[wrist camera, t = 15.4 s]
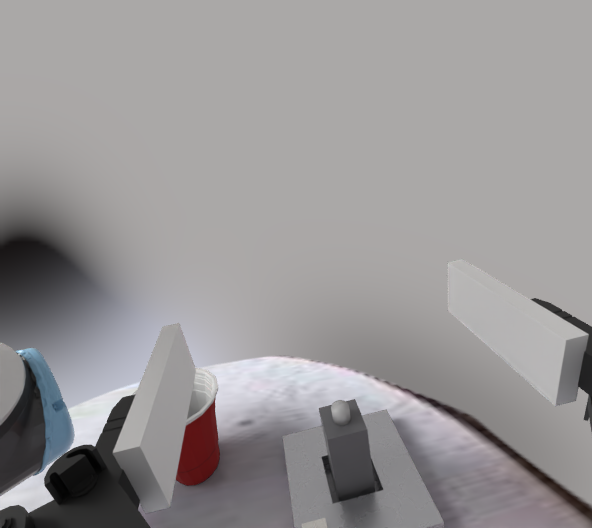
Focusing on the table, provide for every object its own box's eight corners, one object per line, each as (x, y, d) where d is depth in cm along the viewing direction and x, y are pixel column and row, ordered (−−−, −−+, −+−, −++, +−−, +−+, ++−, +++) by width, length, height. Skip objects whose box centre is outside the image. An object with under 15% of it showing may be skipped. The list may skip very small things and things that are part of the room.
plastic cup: (256, 447, 46) (235, 377, 41) (192, 525, 38) (157, 449, 33) (204, 417, 52) (180, 354, 47) (140, 478, 44) (104, 410, 40)
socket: (302, 575, 32) (297, 559, 31) (285, 446, 45) (281, 432, 44) (444, 535, 33) (444, 518, 32) (387, 420, 46) (386, 406, 45)
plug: (339, 505, 37) (325, 428, 32) (331, 471, 40) (316, 397, 36) (375, 495, 37) (365, 418, 33) (363, 462, 41) (353, 388, 36)
